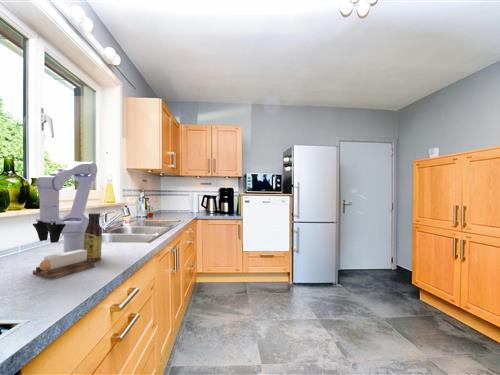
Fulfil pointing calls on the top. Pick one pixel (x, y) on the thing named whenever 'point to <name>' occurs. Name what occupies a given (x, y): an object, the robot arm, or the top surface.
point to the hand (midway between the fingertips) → (48, 241)
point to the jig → (64, 269)
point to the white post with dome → (63, 259)
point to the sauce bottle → (93, 237)
